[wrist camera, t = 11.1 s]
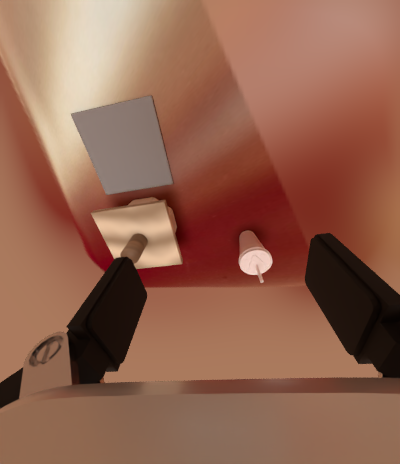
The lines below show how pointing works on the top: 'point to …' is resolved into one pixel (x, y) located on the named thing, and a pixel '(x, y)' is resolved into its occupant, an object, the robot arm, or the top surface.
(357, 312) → the robot arm
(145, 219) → the lid
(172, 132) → the top surface
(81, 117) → the mat
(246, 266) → the smoothie
